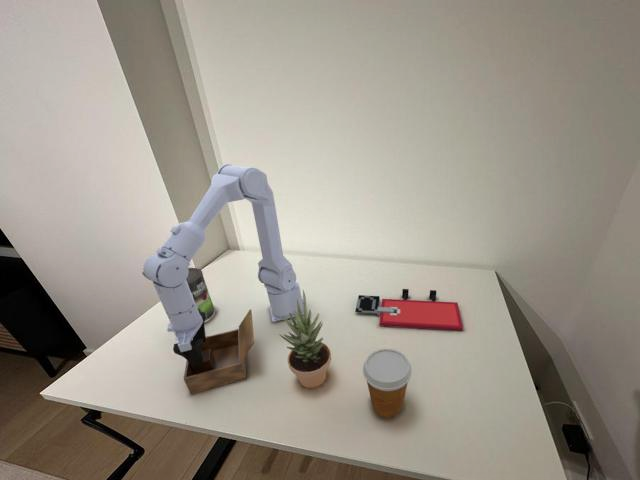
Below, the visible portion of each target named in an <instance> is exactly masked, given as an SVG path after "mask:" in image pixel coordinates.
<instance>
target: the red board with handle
mask: <svg viewBox="0 0 640 480" xmlns="http://www.w3.org/2000/svg"><path fill="white" fill-rule="evenodd" d="M409 291H410V290H409V288H402V293H401V297H402V299H398V298H397V299H395V298H381V305H380V306H379V304H380V295H363V294H358V297H357V301H356V306H355V310H354V313H363V314H376V315H377V317H379V323H378V324H379V325H378V326H379V327H393V328H397V327H398V328H411V329H413V328H414V329H430V330H443V331H461V332H463V330H464V326H463V321H462V317H461V312H460V307H459V303H458V302H456V301H455V302H454V301H436V300H437V289H436V290H434V289H430V290H429V296H428V298H429V300H418V299H417V300H415V299H414V300H413V299H409Z"/></svg>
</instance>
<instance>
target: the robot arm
mask: <svg viewBox="0 0 640 480" xmlns="http://www.w3.org/2000/svg"><path fill="white" fill-rule="evenodd" d="M242 200H246V201H248V202H250V203H251V207H252V212H253V216H254V217H253V218H254V221H255V226H256V232H257V237H258V242H259V247H260V251H261V257H262V258H261V259H260V260H258V263H257V265H258V271H257V278H258V281H259V282H260V283H262V284H263V286H264V288H265V289H266V293H267V298H268V301H269V311H270V317H271V322H272V323H275V322H280V321H285V320H284V318H283V316H284V317H285V318H286V319H287V320H288V319H291V317H290V315H289V313H290V314H291V315H292V317H293V318H295V315H294V310H295V311H296V313H297V315H298V309H297V299H298V302H299V305H300V308H301V312H302V315H303V316H304V304H303V302H304V300H303V295H302V292H301V288H300V283H299V282H298V281H297V273H296V272H295V271H294V269H293V264H292V263H291V262H290V261H289V260H288V259H287V258H286V256H284V251H283V245H282V239H281V233H280V227H279V220H278V215H277V208H276V202H275V197H274V191H273V189H272V188H271V186H270V184H269V182H268V176H267V174H266V173H265V172H263V171H262V170H260V169H259V168H257V167H247V166H239V165H233V164H231V163H227V164H226V163H225V164H222V165H221V166H220V167H219V168H218V169H217V172H216V173H215V174H214V175H213V176H212V177H211V183H210V186H209V188H208V190H206V193H205V194H204V196H203V197H202V199H201V201H200V202H199V204H198V205H197V207H196V209H195V210H194V212H193V213H192V215H191V216H190V218H189V220H187V221H184V222H179V223H178V224H177V225H176V226H175V225H173V226H172V228H171V229H170V232H171V233H170V235H169V236H168V237H167V239H166V240H165V241H164V243H163V245H161V247H158V248H157V250H156V251H155V252H156V253H154V254H153V255H150V256H148V257H147V258H146V259H145V261H144V263H143V268H142V270H143V271H141V274H142V275H143V277H144V278H145V279H147V280H149V281H152V284H153V287H154V289H155V291H156V293H157V297H158V299H159V301H160V303H161V306H162V307H163V309H164V312H165V314H166V316H167V318H168V319H169V324H167V326H166V331H167V332H168V333H170V332H171V333H173V334H174V336H175V338H176V340H177V343H173V347H172V351H173V352H174V354H175V355H179V356H180V357H182V358H184V359H185V360H186V361H188V362H189V363H190V364H191V365H192V366H194V367H195V366H199V365H203V354H202V343H204V342H205V341H206V337H207V336H206V329H205V323H204V321H205V317H206V314H205V312H200V313H199V311H198V309H197V306H196V304H195V301H194V299H193V296H192V293H191V291H190V288H189V286H188V283H187V281H186V279H187V277H188V273H189V270H188V268H190V267H189V266H190V265H191V261H192V260H193V259H194V257H195V256H196V254H197V253H198V252H199V250H200V248H201V247H202V245H203V244H204V243H205V241H206V239H207V237H206V233H205V231H206V229H207V228H208V227H209V226H210V224H211V223H212V222H213V221H214V220H215V219H216V217H217V216H218V215H219V213H221V211H222V210H223V209H224V207H226V205H227V204H228V203H232V202H238V201H242Z"/></svg>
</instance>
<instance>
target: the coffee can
mask: <svg viewBox="0 0 640 480" xmlns="http://www.w3.org/2000/svg"><path fill="white" fill-rule="evenodd" d="M188 270H189V273H188V277H187V279H186V281H187V283H188V286H189V288H190V291H191V293H192V296H193V299H194V301H195V304H196V306H197V309H198V311H199V313H200V312H205V314H206V317H205V321H204V324H206V323H208V322H209V321H211V320H212V319H213V318H214V317H215V315H216V309H215V306H214V304H213V301H212V298H211V295H210V291H209V289H208V286H207V283H206V280H205V277H204V273H203V270H202V269H201V268H198V267H188Z"/></svg>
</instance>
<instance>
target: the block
mask: <svg viewBox="0 0 640 480" xmlns="http://www.w3.org/2000/svg"><path fill="white" fill-rule="evenodd" d="M202 354H203V365H199V366H195V367H194V366H192V365H191V366H192V368H193V370H194V373H195V375H196V374H200V373H203V372H207V371H211V370H214V367H215V359H214V357H213V354H212V352H211V349H208V350H204V351H202Z"/></svg>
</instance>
